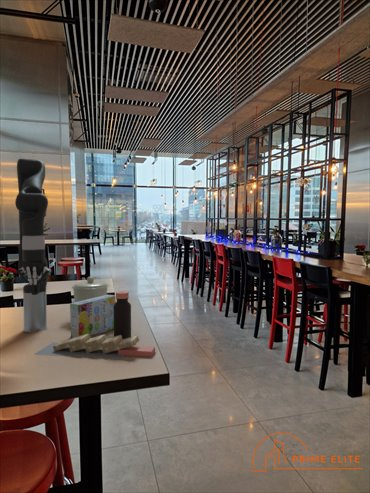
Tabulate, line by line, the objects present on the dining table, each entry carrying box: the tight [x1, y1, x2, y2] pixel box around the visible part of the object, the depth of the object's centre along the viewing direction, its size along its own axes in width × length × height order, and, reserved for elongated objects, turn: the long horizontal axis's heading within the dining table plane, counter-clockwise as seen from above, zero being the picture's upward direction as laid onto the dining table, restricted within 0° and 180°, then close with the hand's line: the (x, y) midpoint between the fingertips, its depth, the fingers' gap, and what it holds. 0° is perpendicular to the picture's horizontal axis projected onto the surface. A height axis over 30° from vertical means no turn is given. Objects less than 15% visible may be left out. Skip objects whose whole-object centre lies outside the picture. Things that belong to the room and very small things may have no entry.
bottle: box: [113, 290, 132, 339], centre depth 123 cm, size 7×7×20 cm
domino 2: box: [69, 334, 108, 352], centre depth 112 cm, size 2×5×12 cm
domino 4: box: [102, 335, 140, 354], centre depth 111 cm, size 2×5×12 cm
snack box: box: [69, 294, 117, 338], centre depth 135 cm, size 21×6×15 cm, turn 149°
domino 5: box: [118, 344, 156, 358], centre depth 110 cm, size 2×5×12 cm
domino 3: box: [85, 335, 123, 353], centre depth 112 cm, size 2×5×12 cm
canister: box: [71, 276, 110, 303], centre depth 160 cm, size 18×18×21 cm
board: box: [34, 341, 127, 360], centre depth 113 cm, size 32×12×1 cm, turn 82°
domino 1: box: [53, 334, 91, 351], centre depth 113 cm, size 2×5×12 cm
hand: (35, 294), depth 116 cm, fingers closed
